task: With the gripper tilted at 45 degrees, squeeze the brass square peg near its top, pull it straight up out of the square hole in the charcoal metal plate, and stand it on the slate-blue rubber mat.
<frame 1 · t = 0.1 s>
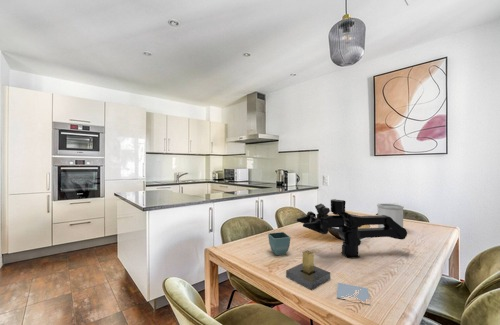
hand: (299, 222, 108), 17 cm above the table, tool horizontal, fingers open, 9 cm apart
socket plate: (308, 277, 89), on the table
rubber mat: (352, 293, 79), on the table
brass peg: (308, 265, 89), in the socket plate
utensil holder: (390, 231, 149), on the table
flower pot: (278, 253, 114), on the table
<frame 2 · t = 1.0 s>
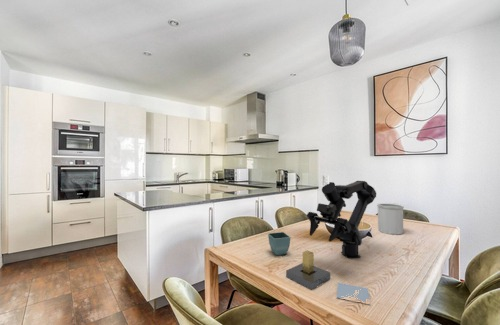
hand: (319, 237, 95), 14 cm above the table, tool tilted 45°, fingers open, 9 cm apart
nothing on the table moved.
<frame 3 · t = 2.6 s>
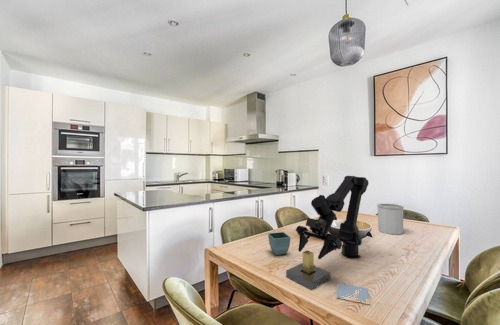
hand: (308, 254, 90), 9 cm above the table, tool tilted 45°, fingers open, 9 cm apart
nothing on the table moved.
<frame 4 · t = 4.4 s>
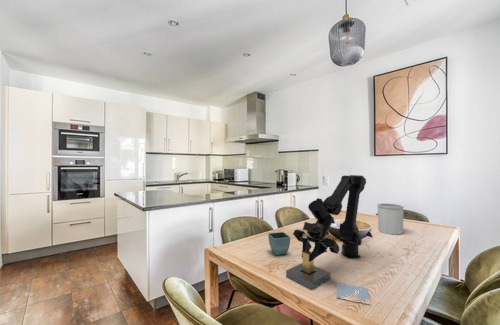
hand: (305, 259, 89), 8 cm above the table, tool tilted 45°, fingers closed on brass peg, 3 cm apart
brass peg: (308, 265, 89), in the socket plate, touching gripper
everything else where it was.
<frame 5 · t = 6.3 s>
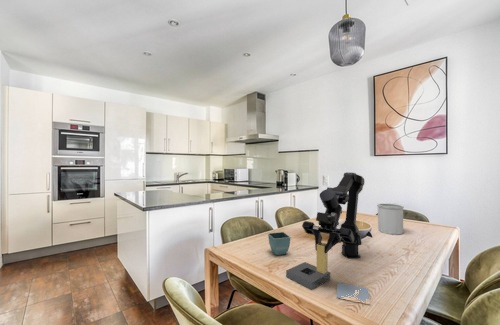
hand: (320, 251, 84), 13 cm above the table, tool tilted 45°, fingers closed on brass peg, 3 cm apart
brass peg: (322, 257, 85), point 10 cm above the table, touching gripper
everything else where it was.
when the fingers open (9 cm above the table, at t = 8.5 s): brass peg stays where it is, resting on rubber mat.
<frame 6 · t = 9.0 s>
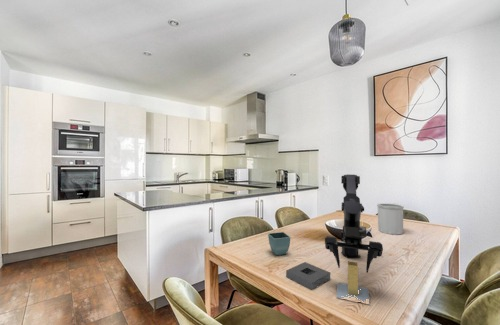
hand: (352, 269, 77), 9 cm above the table, tool tilted 45°, fingers open, 8 cm apart
brass peg: (352, 278, 79), on the rubber mat
everything else where it was.
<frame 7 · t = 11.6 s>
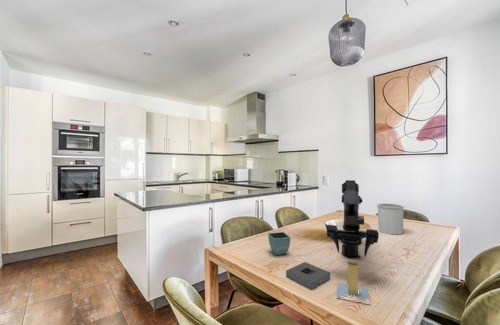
hand: (351, 254, 86), 11 cm above the table, tool tilted 45°, fingers open, 9 cm apart
nothing on the table moved.
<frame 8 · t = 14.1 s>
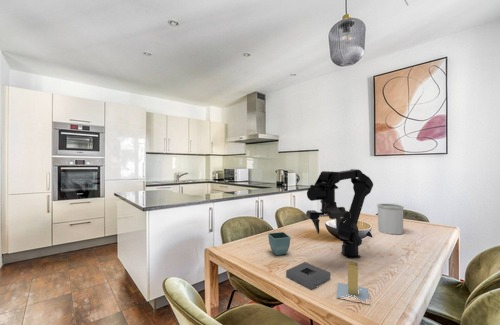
hand: (328, 233, 104), 13 cm above the table, tool pointing down, fingers open, 9 cm apart
nothing on the table moved.
at the end: brass peg inside the target area on the rubber mat (0.0 cm from its centre), point 5.4 cm above the rubber mat's base; brass peg tilted 0°; the gripper is holding nothing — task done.
